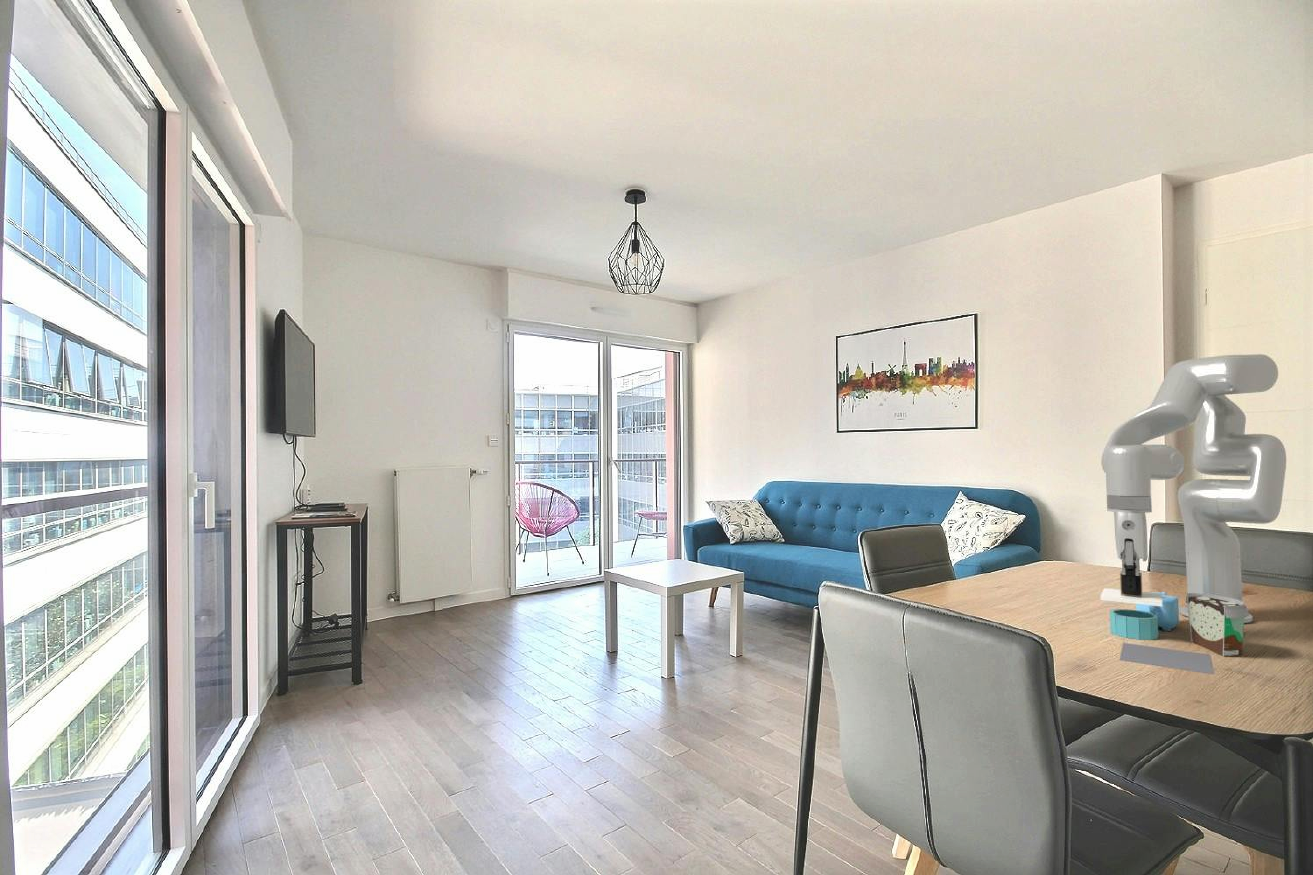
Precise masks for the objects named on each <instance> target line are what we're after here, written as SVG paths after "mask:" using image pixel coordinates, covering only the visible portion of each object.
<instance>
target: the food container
mask: <svg viewBox="0 0 1313 875" xmlns="http://www.w3.org/2000/svg"><path fill="white" fill-rule="evenodd" d="M1185 604H1187V606H1188V613H1189V617H1188V622H1189V628H1190V629H1189V631H1190V641H1191V642H1192V643H1194V644H1195V645H1197V646H1200V647H1202V648H1204V649H1207V650H1209V651H1210V652H1212V653H1215V654H1217V655H1219V656H1222V658H1233V657H1240V656H1242V654H1243V639H1244V638H1243V637H1244V624H1245V623H1244V617H1247V616H1249V614H1250V613H1249V611H1248V607H1247V606H1246V605H1245V601H1243V600H1242V601H1240V600H1237V599H1233V598H1228V597H1223V596H1217V595H1209V594H1198V593H1187V592H1186V595H1185Z"/></svg>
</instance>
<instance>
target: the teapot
mask: <svg viewBox="0 0 1313 875" xmlns="http://www.w3.org/2000/svg"><path fill="white" fill-rule="evenodd" d="M1151 593H1159V594H1162V596H1163V600H1162V606H1152V605H1143V604H1135V606H1136V607H1135V608H1136V609H1135V610H1138V611H1144V612H1149V613H1153V614H1155V615H1157V616H1158V628H1159V627H1160V628H1161V629H1162V630H1163V631H1166V632H1167V631H1168V632H1172V629H1174V628H1176V626H1177V625H1178V624H1179V623H1180V616H1179V613H1180V607H1179V597H1178V596H1173V595H1172V596H1171V595H1166V591H1161V592H1159V591H1152V592H1151Z"/></svg>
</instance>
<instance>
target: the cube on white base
mask: <svg viewBox="0 0 1313 875" xmlns="http://www.w3.org/2000/svg"><path fill="white" fill-rule="evenodd" d="M1121 574H1122V570H1121V571H1120V572H1119V577H1120V578H1119V580H1120V581H1119V583H1120V586H1119V587H1120V589H1117V588H1116V589H1114V588H1108V587H1107V588H1105V587H1104V588H1103V590H1102V592H1101V594H1100V601H1107V602H1114V603H1115V602H1117V603H1124V604H1125V603H1126V604H1135V605H1136V604H1143V605H1152V606H1162V600H1163V596H1162V594H1159V593H1152V592H1149V591H1148V592H1147V591H1143V573H1142V572H1139V576H1141V595H1140V596H1138V595H1128V594H1123V593H1122V587H1121Z"/></svg>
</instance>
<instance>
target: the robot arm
mask: <svg viewBox="0 0 1313 875" xmlns="http://www.w3.org/2000/svg"><path fill="white" fill-rule="evenodd" d="M1278 378H1279V368H1278V366H1277V364H1276V362H1275V360H1274V358H1273V359H1272V357H1271V356H1268V355H1265V354H1261V353H1258V354H1257V353H1256V354H1254V353H1253V354H1224V355H1219V356H1218V355H1217V356H1216V355H1215V356H1208V357H1199V358H1191V359H1186V360H1182V361H1179V362H1177V363H1175V364H1173V365H1172V366H1170V368H1169V369H1168V371H1167V372H1166V375H1165V377H1164V379H1163V380H1162V383H1161V385H1160V386H1159V388H1158V390H1157V392H1156V394H1155V396H1154V398H1153V400H1152V402H1151V404H1150V406H1149V407H1147V408H1145V409H1143V410H1141V411H1139V412H1138V413H1136V414H1135V415H1133V416H1132V417H1131V418H1129V419H1128V420H1125V421H1124V422H1123V423H1121V424H1120V425H1119V426H1118V427H1116V428H1115V429H1114V430H1113V432H1112V433H1111V435H1110V436H1109V439H1108V441H1107V443H1106V444H1105V447H1104V449H1103V451H1102V454H1101V455H1102V456H1101V460H1100V461H1101V462H1100V463H1101V467H1102V468H1101V469H1102V470H1103V472H1104V473H1105V482H1106V483H1105V484H1106V485H1105V487H1106V511H1107V512H1113V515H1114V517H1113V520H1114V539H1115V540H1114V541H1115V548H1116V554H1117V556H1116V557H1117V558H1118V559H1119V560H1121V571H1122V574H1121V587H1122V593H1123V594H1128V595H1138V596H1140V595H1141V576H1139V573H1141V570H1140V560H1141V559H1142V562H1146V561H1147V560H1148V558H1149V554H1148V553H1149V551H1148V549H1149V548H1148V526H1147V525H1148V524H1147V516H1146V514H1147V513H1148V514H1149V513H1152V512H1153V511H1152V508H1153V507H1152V482H1151V480H1152V481H1155V480H1157V481H1163V480H1164V481H1165V480H1171V479H1174V478H1176V477H1178V476H1179V475H1180V474H1181V473H1182V472H1183V470H1184V467H1185V457H1184V455H1183V454H1182V452H1181V451H1180V450H1179V449H1178V448H1176V447H1174V446H1172V445H1169V444H1146V443H1147V442H1149V441H1151V440H1154V439H1157V438H1160V437H1163V436H1166V435H1170V434H1173V433H1176V432H1179V431H1182V430H1184V429H1187V428H1188V427H1191V425H1193V424H1194V423H1195V422H1196V420H1197V426H1196V433H1195V439H1194V446H1193V453H1192V465H1193V467H1194V469H1195V470H1196V471H1197V472H1199V473H1201V474H1204V475H1208V476H1225V477H1250V479H1226V478H1225V479H1224V478H1223V479H1222V478H1221V479H1220V478H1216V479H1215V478H1201V479H1200V478H1199V479H1193V480H1189V481H1187V482H1185V483H1183V484H1182V485H1181V486H1180V487H1179V489H1178V491H1177V492H1178V493H1177V501H1178V506H1179V510H1180V513H1181V517H1182V522H1183V528H1184V544H1185V546H1184V547H1185V548H1184V549H1185V566H1186V567H1185V569H1186V571H1185V572H1186V590H1187V591H1186V594H1187V593H1198V594H1209V595H1217V596H1223V597H1228V598H1233V599H1237V600H1240V601H1242V602H1243V587H1242V586H1243V585H1242V563H1241V561H1242V560H1241V543H1240V540H1239V538H1238V535H1237V534H1236V533H1235V531H1233V529H1232V528H1231V527H1230V525H1229V524H1227V523H1242V524H1260V525H1261V524H1262V525H1265V524H1270V523H1272V522H1275V521H1276V520H1277V519H1278V517H1279V515H1280V512H1281V509H1282V503H1283V502H1282V500H1283V492H1284V488H1285V487H1284V486H1285V479H1286V478H1285V477H1286V469H1287V452H1286V448H1285V446H1284V443H1283V442H1282V441H1281V439H1279V438H1278V437H1276V436H1275V435H1272V434H1267V433H1247V434H1245V432H1246V424H1247V422H1246V421H1247V418H1246V414H1245V413H1244V411H1243V410H1242V409H1241V407H1240V406H1238V405H1237V404H1236V403H1235V402H1233V400H1232V399H1230V398H1229V397H1228V396H1227V395H1239V394H1253V393H1263V392H1267V391H1269V390H1270V389H1272V388H1273V387H1274V386H1275V385H1276V383H1277V381H1278ZM1144 443H1145V444H1144ZM1121 587H1120V588H1121ZM1179 613H1180V614H1181V615H1183V616H1186V617H1188V618H1189V613H1188V605H1183V606H1182V605H1181V606H1180V607H1179ZM1252 622H1253V615H1252V614H1251V613H1249V616H1247V617H1244V624H1248V623H1252Z"/></svg>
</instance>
